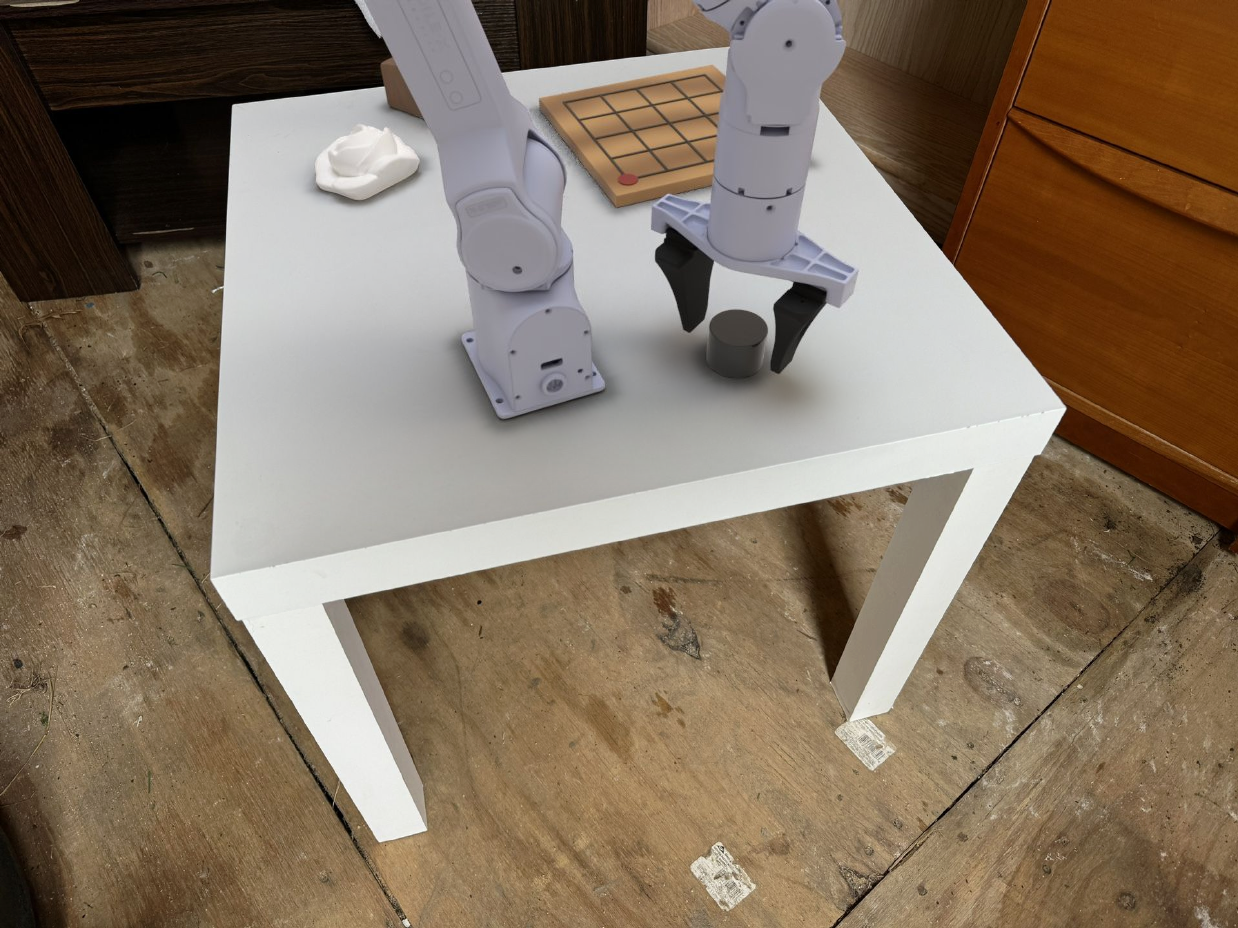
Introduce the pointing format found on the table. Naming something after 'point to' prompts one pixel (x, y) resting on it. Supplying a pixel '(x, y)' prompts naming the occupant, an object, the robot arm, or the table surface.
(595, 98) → the board
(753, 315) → the dark grey cylinder puck
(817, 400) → the table surface
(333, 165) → the rose
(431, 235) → the table surface
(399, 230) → the table surface
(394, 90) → the wooden block
